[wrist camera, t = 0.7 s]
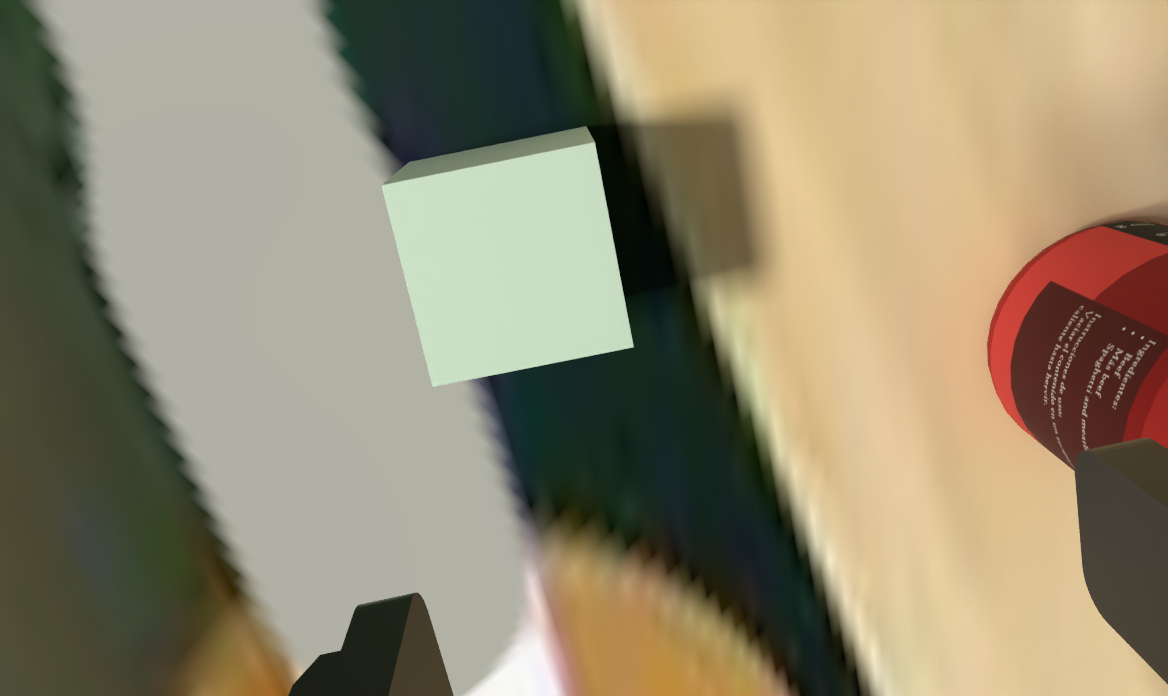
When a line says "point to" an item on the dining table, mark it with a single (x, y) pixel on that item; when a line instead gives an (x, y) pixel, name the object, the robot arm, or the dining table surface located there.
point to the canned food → (1087, 340)
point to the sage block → (509, 256)
